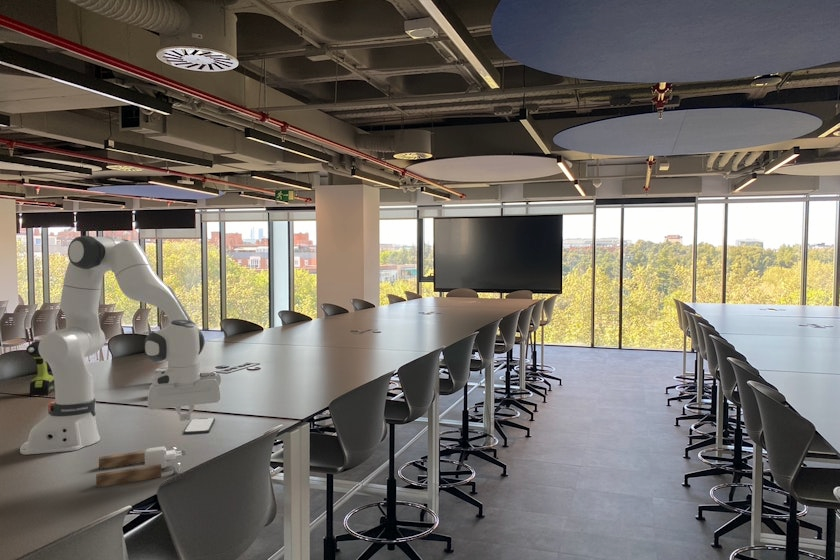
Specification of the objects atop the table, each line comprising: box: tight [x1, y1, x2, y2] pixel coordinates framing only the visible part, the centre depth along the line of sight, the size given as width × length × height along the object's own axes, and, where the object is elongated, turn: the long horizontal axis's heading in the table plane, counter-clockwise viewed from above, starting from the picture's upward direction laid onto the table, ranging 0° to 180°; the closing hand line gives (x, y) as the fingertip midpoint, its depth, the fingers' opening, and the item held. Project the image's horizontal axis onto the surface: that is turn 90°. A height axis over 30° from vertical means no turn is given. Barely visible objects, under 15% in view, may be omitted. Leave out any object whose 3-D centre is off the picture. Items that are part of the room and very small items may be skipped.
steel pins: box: [168, 446, 181, 476], centre depth 169 cm, size 2×17×3 cm, turn 27°
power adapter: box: [144, 445, 187, 470], centre depth 168 cm, size 11×5×6 cm, turn 117°
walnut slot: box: [95, 450, 162, 488], centre depth 164 cm, size 16×17×3 cm
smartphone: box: [183, 417, 216, 435], centre depth 208 cm, size 9×2×16 cm
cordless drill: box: [25, 340, 55, 396], centre depth 257 cm, size 23×7×25 cm, turn 18°
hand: (185, 420), depth 170 cm, fingers closed
